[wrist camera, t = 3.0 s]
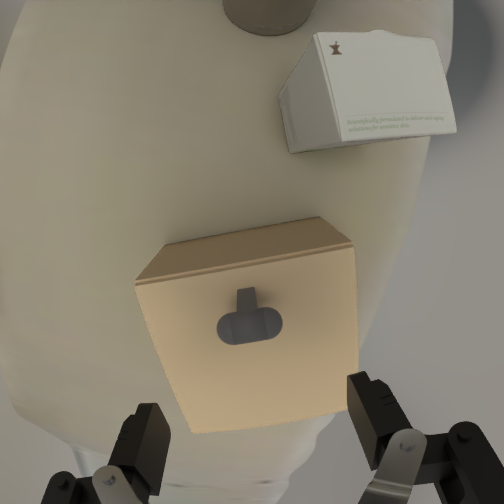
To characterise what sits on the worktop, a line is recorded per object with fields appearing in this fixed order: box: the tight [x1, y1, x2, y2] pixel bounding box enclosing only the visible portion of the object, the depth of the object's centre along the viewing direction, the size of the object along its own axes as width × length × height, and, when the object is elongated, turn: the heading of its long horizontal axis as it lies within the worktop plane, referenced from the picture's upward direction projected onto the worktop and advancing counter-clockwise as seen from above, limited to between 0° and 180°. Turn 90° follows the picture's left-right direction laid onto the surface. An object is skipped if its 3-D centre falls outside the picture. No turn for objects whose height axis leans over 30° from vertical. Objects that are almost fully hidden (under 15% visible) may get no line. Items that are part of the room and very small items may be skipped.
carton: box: [135, 217, 352, 283], centre depth 29 cm, size 16×16×10 cm
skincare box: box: [278, 30, 457, 154], centre depth 21 cm, size 8×7×16 cm
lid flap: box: [134, 245, 358, 433], centre depth 21 cm, size 16×16×5 cm
